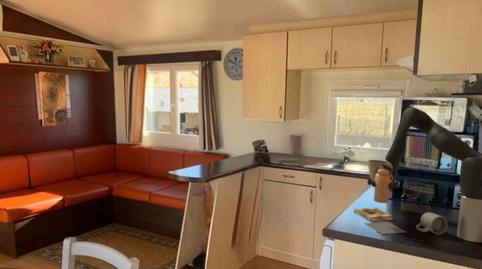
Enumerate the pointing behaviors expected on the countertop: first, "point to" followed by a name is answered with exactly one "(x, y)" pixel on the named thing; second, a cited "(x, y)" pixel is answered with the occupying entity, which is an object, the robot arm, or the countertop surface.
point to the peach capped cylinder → (382, 186)
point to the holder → (373, 214)
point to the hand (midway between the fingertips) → (382, 185)
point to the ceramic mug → (432, 223)
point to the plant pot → (374, 164)
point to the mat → (385, 228)
